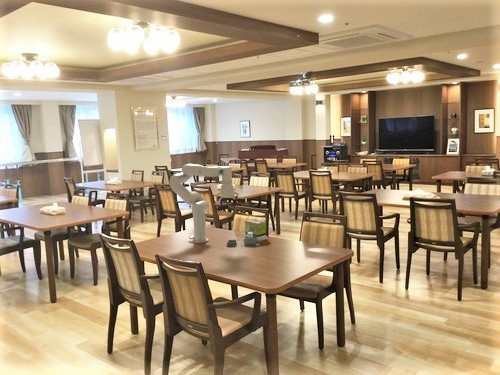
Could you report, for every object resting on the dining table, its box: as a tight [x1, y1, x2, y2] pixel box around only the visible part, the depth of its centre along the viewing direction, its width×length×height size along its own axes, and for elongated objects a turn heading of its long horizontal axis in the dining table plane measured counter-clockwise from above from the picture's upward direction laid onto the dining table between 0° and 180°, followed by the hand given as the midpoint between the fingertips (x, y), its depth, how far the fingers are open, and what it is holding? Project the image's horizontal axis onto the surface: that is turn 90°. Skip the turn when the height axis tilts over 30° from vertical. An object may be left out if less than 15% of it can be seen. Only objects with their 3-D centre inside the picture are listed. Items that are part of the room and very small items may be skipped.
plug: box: [247, 232, 253, 238], centre depth 336 cm, size 4×4×9 cm
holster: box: [225, 239, 238, 248], centre depth 335 cm, size 8×9×4 cm
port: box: [240, 235, 261, 248], centre depth 336 cm, size 14×12×6 cm
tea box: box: [244, 218, 267, 242], centre depth 353 cm, size 15×10×15 cm, turn 43°
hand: (227, 204), depth 340 cm, fingers open, 9 cm apart
